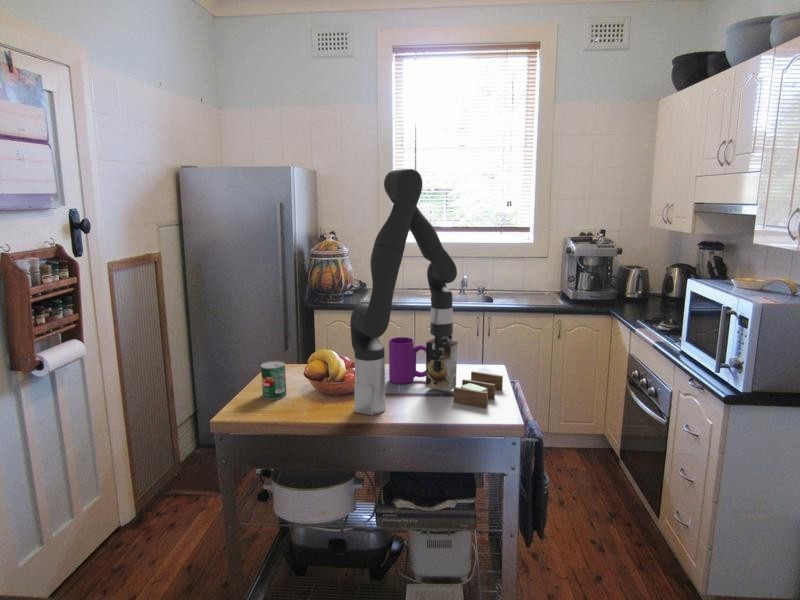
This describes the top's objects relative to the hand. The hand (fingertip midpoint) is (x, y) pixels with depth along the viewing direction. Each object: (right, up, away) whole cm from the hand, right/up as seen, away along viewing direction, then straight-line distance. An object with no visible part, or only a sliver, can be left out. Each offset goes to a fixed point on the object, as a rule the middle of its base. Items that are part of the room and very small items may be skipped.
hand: (441, 368), depth 178 cm
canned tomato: (-56, -9, -1) cm, 57 cm away
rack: (+12, -9, -3) cm, 15 cm away
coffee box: (0, -7, +1) cm, 7 cm away
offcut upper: (+10, -8, -7) cm, 15 cm away
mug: (-10, -6, +12) cm, 17 cm away
